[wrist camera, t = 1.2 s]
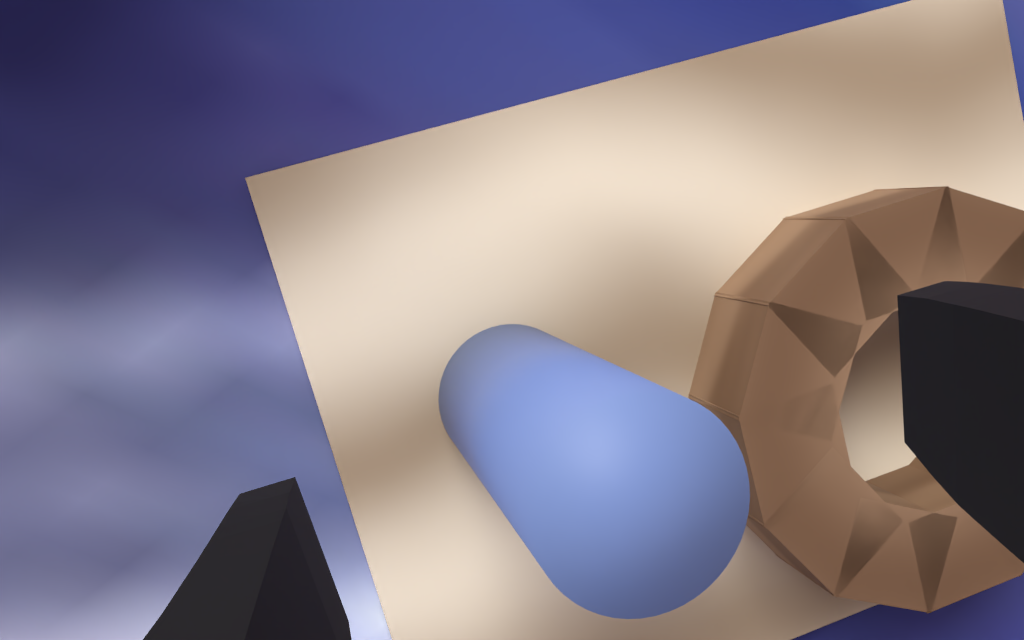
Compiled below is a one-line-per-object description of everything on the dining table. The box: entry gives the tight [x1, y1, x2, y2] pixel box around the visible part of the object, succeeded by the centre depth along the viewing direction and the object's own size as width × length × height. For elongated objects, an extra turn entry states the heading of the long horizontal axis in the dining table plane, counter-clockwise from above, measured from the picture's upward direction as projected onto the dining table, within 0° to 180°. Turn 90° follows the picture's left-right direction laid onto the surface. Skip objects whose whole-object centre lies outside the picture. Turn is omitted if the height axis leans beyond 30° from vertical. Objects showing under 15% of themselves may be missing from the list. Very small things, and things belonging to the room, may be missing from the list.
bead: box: [688, 186, 1024, 613], centre depth 21 cm, size 9×9×2 cm
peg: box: [438, 324, 750, 619], centre depth 17 cm, size 3×3×8 cm
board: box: [245, 0, 1024, 640], centre depth 22 cm, size 14×18×1 cm
